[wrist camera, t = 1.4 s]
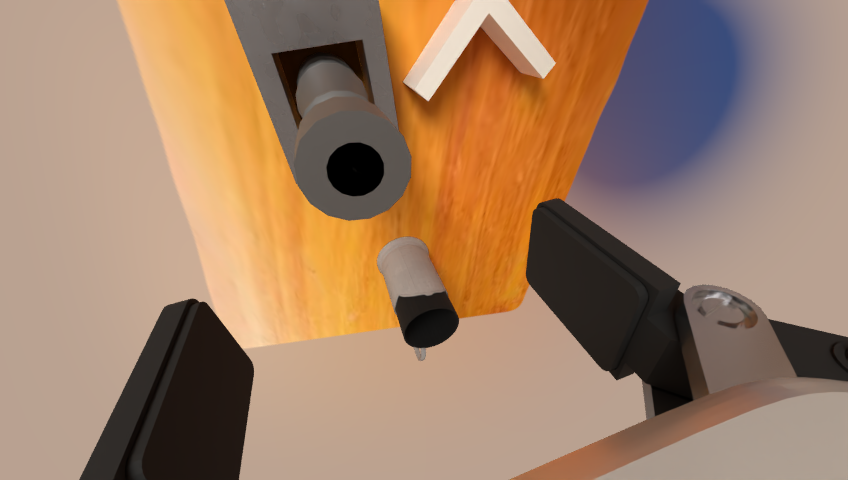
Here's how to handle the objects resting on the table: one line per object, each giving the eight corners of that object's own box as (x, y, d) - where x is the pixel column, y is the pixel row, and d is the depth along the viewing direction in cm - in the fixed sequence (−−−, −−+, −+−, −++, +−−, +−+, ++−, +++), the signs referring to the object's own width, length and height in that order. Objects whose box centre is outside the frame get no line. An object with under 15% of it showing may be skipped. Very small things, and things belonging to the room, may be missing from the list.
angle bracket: (390, -10, 32) (402, -13, 28) (538, -29, 35) (568, -35, 31) (404, 94, 38) (415, 103, 34) (530, 70, 41) (554, 76, 37)
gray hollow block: (236, 0, 29) (223, -2, 24) (364, -15, 31) (375, -21, 26) (297, 163, 39) (296, 184, 34) (392, 143, 41) (403, 159, 36)
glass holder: (431, 234, 51) (468, 299, 39) (423, 298, 59) (452, 367, 47) (377, 239, 49) (400, 310, 37) (376, 305, 56) (395, 380, 45)
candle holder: (309, 118, 36) (314, 238, 17) (288, 57, 33) (263, 120, 13) (361, 107, 37) (424, 207, 18) (347, 46, 34) (406, 90, 14)
